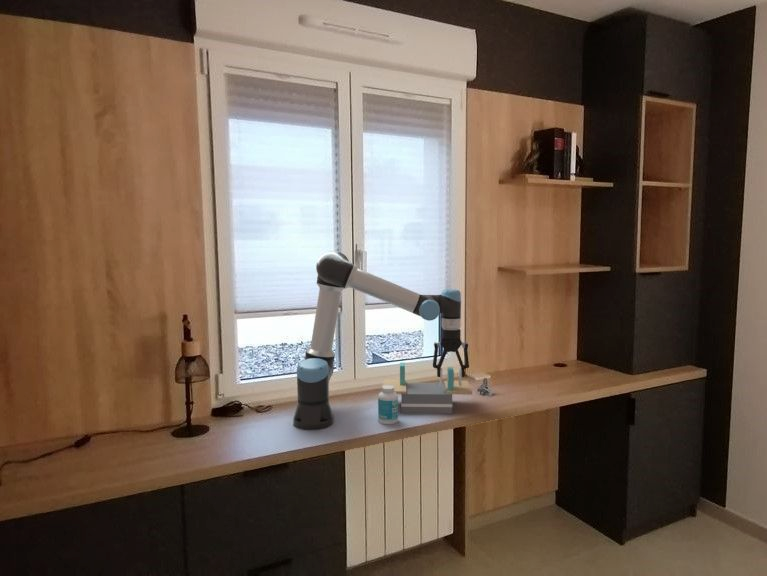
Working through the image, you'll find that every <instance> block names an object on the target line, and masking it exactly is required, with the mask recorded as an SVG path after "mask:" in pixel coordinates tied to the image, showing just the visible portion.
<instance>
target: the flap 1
mask: <svg viewBox="0 0 767 576" xmlns="http://www.w3.org/2000/svg"><path fill="white" fill-rule="evenodd" d="M406 383H407V380H406V362H399V379H383V383H382V387H383V386H393V387H394V392H395V393H396V394H397V395H401V394H406Z"/></svg>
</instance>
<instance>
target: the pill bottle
mask: <svg viewBox="0 0 767 576" xmlns="http://www.w3.org/2000/svg"><path fill="white" fill-rule="evenodd" d="M377 396H378V398H377V404H378V405H377V408H378V409H377V411H378V412H377V413H378V414H377V416H378V417H377V419H378V420H377V421H378V423H380V424H381V425H388V426H389V425H394V424H396V423H397V422H399V421H398V420H399V419H398V418H399V414H398V413H399V410H398V409H399V408H398V407H399V402H398V401H399V394H396V393H395V392H394V387H393V386H383V385H382V386H381V391H380V392H379V394H378V395H377Z"/></svg>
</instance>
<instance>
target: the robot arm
mask: <svg viewBox="0 0 767 576" xmlns="http://www.w3.org/2000/svg"><path fill="white" fill-rule="evenodd" d="M315 267H316V268H315V269H316V273H317V277H316V285H317V286H318V287H319V289H318V297H317V304H316V308H315V316H314V322H313V323H314V324H313V329H312V337H311V341H310V342H311V343H310V346H309V347H308V348H307V349H306V351H305V357H304V360H301V361H299V363H298V364H297V366H296V380H297V381H296V382H297V383H296V384H297V404H296V409H295V412H294V415H293V418H292V420H293V421H292V422H293V426H294V427H295V428H297V429H300V430H304V431H305V430H306V431H315V430H323V429H327V428H329V427H331V426H332V425H333V424H334V422H335V419H334V418H335V415H334V413H333V410H332V407H331V405H330V397H329V396H330V394H329V392H330V391H329V389H330V388H329V385H330V381H331V378H332V376H333V374H334V369H335V367H334V364H335V357H336V353H335V352H334V350H333V346H334V345H333V344H334V340H335V339H334V338H335V334H336V333H335V332H336V327H337V320H338V314H339V308H340V302H341V295H342V291H344V290H345V289H348V288H350V289H353V290H355V291H357V292H358V291H359V292H361V293H363V294H365V295H368V296H371V298H372V297H373V298H375V299H378V300H379V301H383V302H384V303H388V304H389V305H393V306H394V307H398V308H400V309H402V310H404V311H407V312H409V313H412V314H413V315H416V316H419V317H421V318H422V319H424V320H426V321H434V320H436V319H437V318H438V317H439V315H440V314H441V338H440V339H441V340H440V341H438V342H434V343H433V346H434V347H433V348H434V350H433V351H434V352H433V358H432V359H433V360H432V367H433V368H434V369H436V376H437V378H439V383H440V386H442V383H443V368H442V365H443V363H444V360H445V358H446V355H447V353H450V352H452V353H455V355H456V357H457V361H458V363H459V365H460V366H459V368H458V381H459V386H461V385H462V381H463V379H462V378H464V377H465V370H466V369H468V368H470V363H469V352H468V348H469V343H468V342H463V341H462V340H461V339H462V338H461V335H462V334H461V332H462V331H461V326H462V325H461V324H462V322H461V321H462V319H461V317H462V316H461V315H462V294H461V293H462V292H461V291H460V290H459V289H456V288H455V289H454V288H453V289H452V288H451V289H443V290H441V294H421V293H418V292H415V291H414V290H410V289H408V288H405V287H403V286H401V285H398V284H396V283H394V282H391V281H389V280H387V279H385V278H384V279H383V278H382V277H379V276H377V275H374V274H372V273H369V272H367V271H365V270H362V269H360V268H358V267H357V265H356V264H355V263H353V262H350V260H349V258H348V257H347V256H346V254H344V253H342V252H341V251H336V250H332V251H328V252H325V253H324V254H322V255H321V256H319V258H318V260H317V262H316V266H315ZM440 346H441V347H442V348H443V350H442V353H441V355H440V359H439V360H438V354H439V349H440ZM460 347H462V348H463V355H464V362H463V360H462V357H461V354H460V352H459V349H460ZM437 360H438V361H437ZM437 362H438V363H437Z"/></svg>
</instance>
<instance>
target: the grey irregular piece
mask: <svg viewBox="0 0 767 576" xmlns="http://www.w3.org/2000/svg"><path fill="white" fill-rule="evenodd" d="M488 382H489V381H488V378H487V377H485V378H483V381H482V384H481V385H480V386H479V387H478V388H477V390H476V394H479V396H480V395H481V396H487V397H491V396H494V395H495V392H493V389H491V386H490V385H488Z"/></svg>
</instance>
